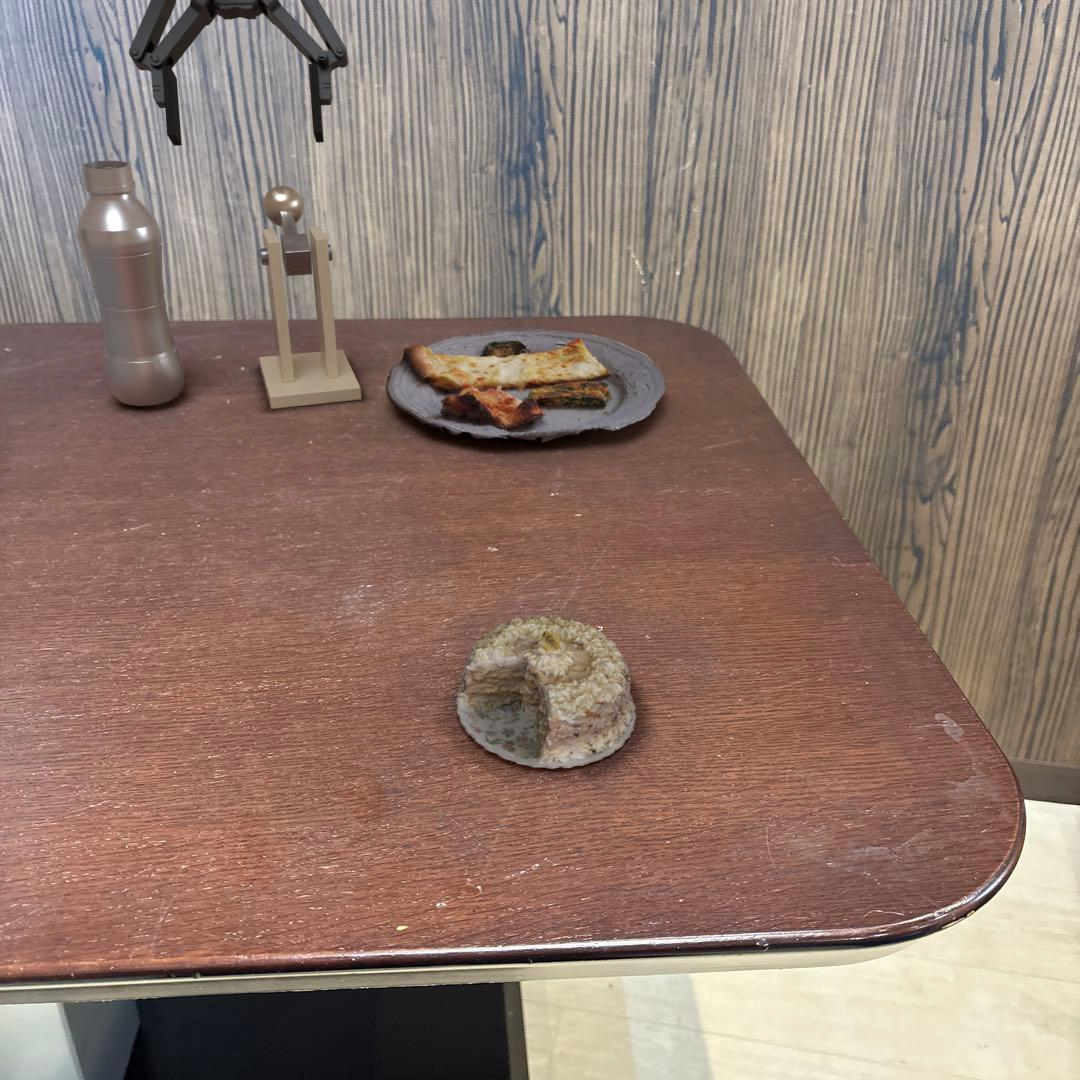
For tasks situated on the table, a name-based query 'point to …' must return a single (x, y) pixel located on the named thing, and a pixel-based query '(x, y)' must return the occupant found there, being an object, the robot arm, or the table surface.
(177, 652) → the table surface
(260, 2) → the robot arm
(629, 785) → the table surface
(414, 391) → the food plate
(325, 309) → the bracket
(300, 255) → the lever
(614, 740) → the cake
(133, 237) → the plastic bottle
